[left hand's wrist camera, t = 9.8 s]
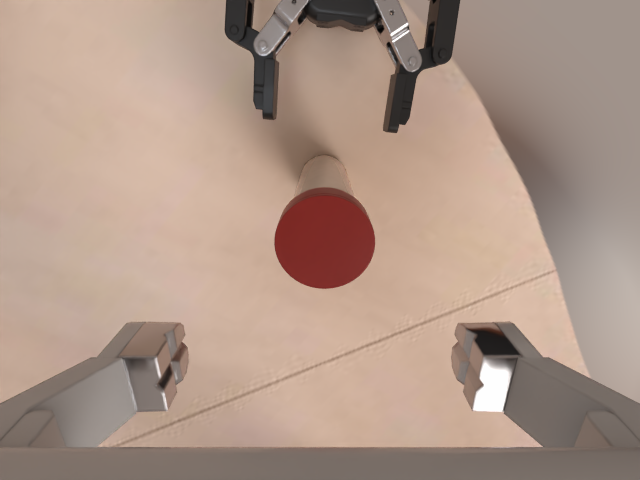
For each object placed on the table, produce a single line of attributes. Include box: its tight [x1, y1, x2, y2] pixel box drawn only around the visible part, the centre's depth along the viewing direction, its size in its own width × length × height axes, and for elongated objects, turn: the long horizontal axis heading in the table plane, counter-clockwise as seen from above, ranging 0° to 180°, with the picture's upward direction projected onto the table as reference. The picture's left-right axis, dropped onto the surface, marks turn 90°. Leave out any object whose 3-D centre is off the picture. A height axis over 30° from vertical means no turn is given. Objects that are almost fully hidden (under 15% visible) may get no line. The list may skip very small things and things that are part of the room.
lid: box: [275, 187, 375, 289], centre depth 19 cm, size 5×5×2 cm
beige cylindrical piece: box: [293, 155, 354, 199], centre depth 25 cm, size 4×4×16 cm
